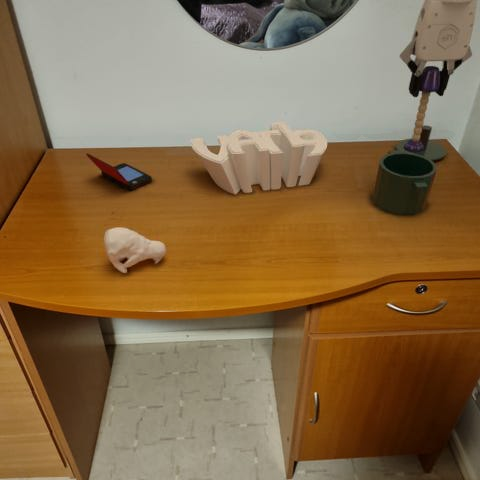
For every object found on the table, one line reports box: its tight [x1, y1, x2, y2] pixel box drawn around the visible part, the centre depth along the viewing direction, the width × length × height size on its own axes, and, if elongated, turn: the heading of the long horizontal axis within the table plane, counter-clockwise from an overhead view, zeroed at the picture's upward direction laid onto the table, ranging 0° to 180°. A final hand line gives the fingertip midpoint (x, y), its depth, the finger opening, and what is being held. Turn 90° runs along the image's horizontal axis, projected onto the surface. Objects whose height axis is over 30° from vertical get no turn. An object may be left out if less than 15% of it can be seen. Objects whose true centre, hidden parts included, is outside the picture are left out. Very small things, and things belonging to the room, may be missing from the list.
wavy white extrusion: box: [190, 121, 328, 195], centre depth 122 cm, size 35×16×11 cm, turn 102°
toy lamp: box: [404, 65, 441, 153], centre depth 102 cm, size 5×5×17 cm
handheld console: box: [86, 153, 153, 191], centre depth 122 cm, size 12×11×7 cm
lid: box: [395, 124, 447, 162], centre depth 134 cm, size 14×14×7 cm
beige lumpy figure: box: [103, 227, 167, 274], centre depth 96 cm, size 6×8×12 cm
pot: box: [371, 149, 438, 216], centre depth 114 cm, size 13×18×10 cm
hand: (426, 93), depth 100 cm, fingers closed on toy lamp, 4 cm apart
